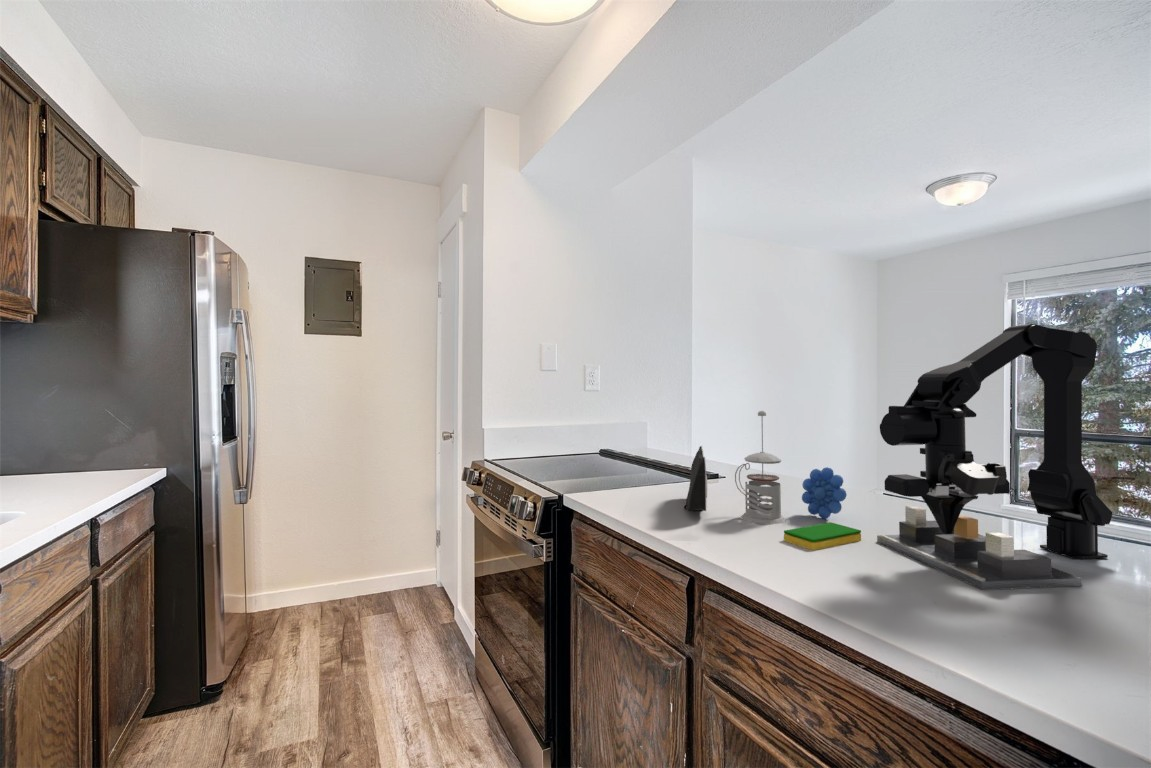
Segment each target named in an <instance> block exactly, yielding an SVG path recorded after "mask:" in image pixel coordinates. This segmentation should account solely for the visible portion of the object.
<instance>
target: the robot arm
mask: <svg viewBox="0 0 1151 768" xmlns="http://www.w3.org/2000/svg"><path fill="white" fill-rule="evenodd" d="M1097 348H1098V345H1097V341H1096V339H1095V338H1093V337H1092V336H1091V335H1090V334H1089V333H1087V332H1085V331H1082V330H1081V331H1080V330H1079V331H1073V330H1066V329H1061V328H1059V329H1058V328H1052V327H1046V326H1043V325H1040V324H1037V323H1027V324H1018V325H1012V326H1011V325H1010V326H1008V327H1007V328H1005V329H1004V330H1003V331H1002V333H1000V334H999V335H998V336H996V337H994V338H993V339H990V341H988V342H986V343H985V344H984V345H981V346H980V347H978V348H977V349H976V350H974V351H973V352H971V353H969V354H968V355H967V356H965V357H963V358H962V359H960V360H959V361H957V362H954V363H952V364H947V365H943V366H940V367H937V368H934V369H932V370H930V371H927V372H924V373H923V374H922V375H920V376H919V378H918V379H917V385H916V386H915V388H914V390H913V391H912V392H911V394H910V396H909V397H908V399H907V401H906V402H905V404H904V405H889V406H888V412H887V413H885V414H884V416H883V417H882V419H881V423H879V433H880V435H881V438H882V440H883V441H884V442H885V443H886V444H887V445H889V446H894V447H895V446H918V445H919V446H920V445H924V447H919V454H921V455H925V457H924V458H925V459H924V461H925V463H924V464H925V470H920V472H919V473H920V474H919V475H920V477H919V476H915V475H910V474H907V473H906V474H904V473H903V474H888V475H887V477H886V478H885V480H884V491H886V492H890V493H893V494H896V495H900V496H903V497H910V498H911V497H912V498H913V497H914V498H915V497H921V498H922V500H923V501H924V503H925V504H926V506H927V507H928V508H929V510H930V512H931V515H933V517H934V521H936V522H937V523H938V525H939V527H940V529H941V531H942V533H944V534H951V533H952V531H953V529H954V526H955V524H956V522H957V519H958V517H959V516H961V513H962V511H963V509H964V507H965V506H966V505H967V504H968V503H969V502H972V501H973V500H978V499H979V495H988V496H991V495H994V494H995V495H1000V494H1003V495H1004V494H1007V495H1008V494H1010V492H1011V488H1010V482H1009V480H1008V479H1007V477H1008V476H1007V467H1006V465H1004V464H1003V463H1000V462H988V463H986V464H985V463H976V462H975V460H974V454H973V452H972V451H971V450H966V418H976V417H977V413H976V412H975V411H973V410H972V409H971V408H969V407H968V406H967V403H968V402H969V400H971V399H972V398H973V397H974V396H975V395H976V394H978V392H979V391H980V390H981V387H982V386H981V385H982V382H983V381H984V380H986V379H987V378H988V377H990V376H991V375H992V374H994V373H996V372H997V371H999V370H1000V369H1002V368H1003V367H1005V366H1006V365H1008V364H1010V362H1012V361H1014V360H1015V359H1018V357H1020V356H1025V357H1028V358H1031V364H1032V369H1033V370H1034V371H1035V372H1036V373H1037V375H1038V377H1039V378H1040V379H1041V381H1042V383H1043V459H1042V462H1041V463H1040V464H1039V465H1038V467H1037V468H1036V469H1033V468H1030V469H1029V470H1028V474H1027V475H1028V486H1027V492H1029V494H1030V497H1031V501H1032V502H1033V504H1034V507H1035V510H1036V513H1037V514H1039V515H1045V516H1047V525H1046V532H1045V533H1046V544H1039V548H1040V549H1043V550H1047V551H1049V552H1053V553H1055V554H1059V555H1062V556H1065V557H1068V558H1072V559H1075V560H1076V559H1077V560H1078V559H1101V558H1102V559H1105V558H1106V559H1107V558H1108V554H1107V553H1103V552H1099V542H1098V541H1099V539H1098V538H1099V536H1098V533H1099V531H1098V528H1099V527H1105V526H1106V525H1110V523H1111V521H1112V517H1113V511H1112V510H1111V509H1110V508H1109V507H1108V506H1107V505H1106V503H1104V502H1103V501H1102V499H1101V498H1100V497H1099V496H1098V495H1097V489H1096V484H1095V480H1094V478H1093V476H1092V475H1091V474H1090V472H1089V471H1088V470H1087V468H1086V467H1085V466H1084V463H1083V461H1082V460H1083V454H1082V453H1083V451H1082V449H1083V444H1082V443H1083V440H1082V439H1083V438H1082V437H1083V436H1082V435H1083V433H1082V432H1083V427H1082V424H1083V420H1082V419H1083V409H1082V408H1083V404H1082V403H1083V400H1082V399H1083V396H1082V395H1083V391H1082V390H1083V385H1082V384H1083V381H1084V380H1085V379H1086V378H1087V376H1089V374H1090V372H1091V371H1093V369H1094V368H1095V365H1096V364H1095V363H1096V356H1097V351H1098V350H1097Z"/></svg>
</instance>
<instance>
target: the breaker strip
mask: <svg viewBox="0 0 1151 768" xmlns="http://www.w3.org/2000/svg"><path fill="white" fill-rule="evenodd" d="M904 511H905V514H904V515H905V521H903V520H902V521H899V522H898V527H899V528H898V529H899V530H898V532H899V534H877V535H876V541H877V542H878V543H880V544H882V545H884V546H886V547H888V548H891V549H893V550H895V551H897V552H899V553H902V555H906V556H908V557H911V558H912V559H915V560H916V561H918V562H921V563H923V564H926V565H928V566H929V567H932V568H933V569H936V570H938V571H940V572H942V573H945V574H946V575H948V576H951V577H953V578H955V579H957V580H960V581H962V582H965V583H966V584H968V585H970V586H973V587H975V588H977V589H979V590H981V591H983V590H984V591H985V590H986V591H987V590H989V591H990V590H1012V589H1011V588H1013V589H1014V590H1015V588H1017V589H1035V588H1036V589H1037V588H1038V589H1039V588H1061V587H1062V588H1063V587H1065V588H1067V587H1068V588H1069V587H1082V586H1083V578H1082V577H1080V576H1076V575H1073V574H1071V573H1068V572H1065V571H1063V570H1059V569H1058V568H1054V567H1052V558H1050V557H1049V556H1048V557H1047V556H1044V555H1042V554H1038V553H1037V552H1033V551H1030V550H1026V549H1014V547H1015V545H1014V544H1015V542H1014V540H1015V538H1014V536H1011V535H1008V534H1004V533H1002V532H999V531H989V532H987V531H986V532H985V535H982V534H979V533H978V538H974V539H967V538H964V537H961V536H958V535H955V534H954V529H953V531H952V533H951V534H944V533H942V531H941V529H940V527H939V525H938V523H937V522H936V520H927V509H926V508H925V507H924V508H923V507H920V506H917V505H905V507H904Z"/></svg>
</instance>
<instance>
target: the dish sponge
mask: <svg viewBox="0 0 1151 768" xmlns="http://www.w3.org/2000/svg"><path fill="white" fill-rule="evenodd" d="M783 541H784V542H788V543H789V544H793V545H796V546H799V547H802V548H805V549H807V550H811V551H816V550H821V549H826V548H831V547H832V548H833V547H835V546H842V545H846V544H850V543H851V544H852V543H856V542H860V541H862V531H861V530H860V529H857V528H854V527H849V526H846V525H843V524H839V523H834V522H825V523H820V524H819V523H818V524H815V525H813V524H812V525H808V526H803V527H797V528H796V527H795V528H791V529H786V530H783Z"/></svg>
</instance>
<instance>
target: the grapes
mask: <svg viewBox="0 0 1151 768" xmlns="http://www.w3.org/2000/svg"><path fill="white" fill-rule="evenodd" d="M834 473H835V472H834V470H833V469H832V468H831V467H828V466H827V467H824V468H822V469H821V470H820V469H818V468H814V469H812V470H811V471H810V472H809V477H808V478H805V479H804V480H803V482H802V488H803V490H804V492H803V493H802V496H801V501H802V502H803V503H804V504H807V505H808V506H807V511H808V513H809V514H810V515H813V516H816V515H818V517H820V518H821V519H823V520H826V519H829V518H830V517H831V514H834V515H837V514H839V513H840V512H841V511H842V508H843V507H842V503H841V502H843V501H845V499H847V491H846V490H845V489H844V488H841V487H842V486H843V484H844V478H843V477H842V476H841V475H839V474H834Z"/></svg>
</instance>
